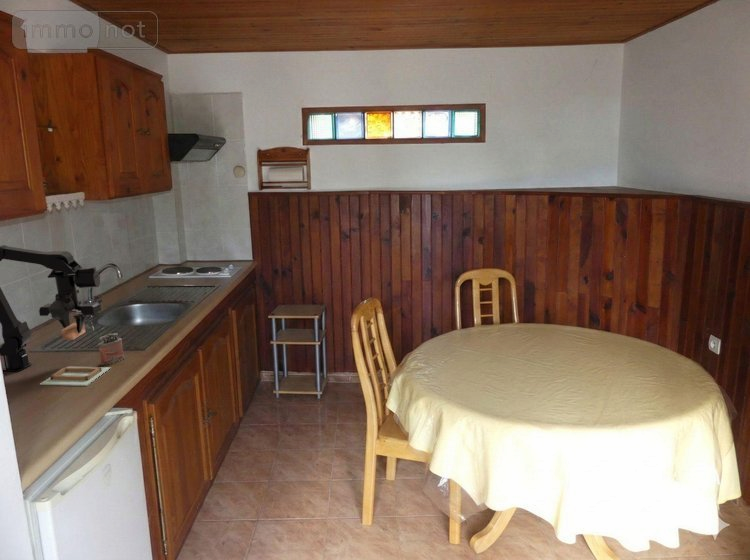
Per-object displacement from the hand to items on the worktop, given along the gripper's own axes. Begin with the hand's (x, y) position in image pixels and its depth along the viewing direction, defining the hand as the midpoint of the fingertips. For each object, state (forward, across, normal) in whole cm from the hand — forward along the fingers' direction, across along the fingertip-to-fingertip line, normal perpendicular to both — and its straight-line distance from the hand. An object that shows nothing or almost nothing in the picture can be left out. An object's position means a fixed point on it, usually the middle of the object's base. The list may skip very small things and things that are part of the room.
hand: (74, 333), depth 199 cm
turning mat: (+11, +6, -12) cm, 17 cm away
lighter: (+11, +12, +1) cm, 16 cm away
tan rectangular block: (+1, 0, 0) cm, 1 cm away
